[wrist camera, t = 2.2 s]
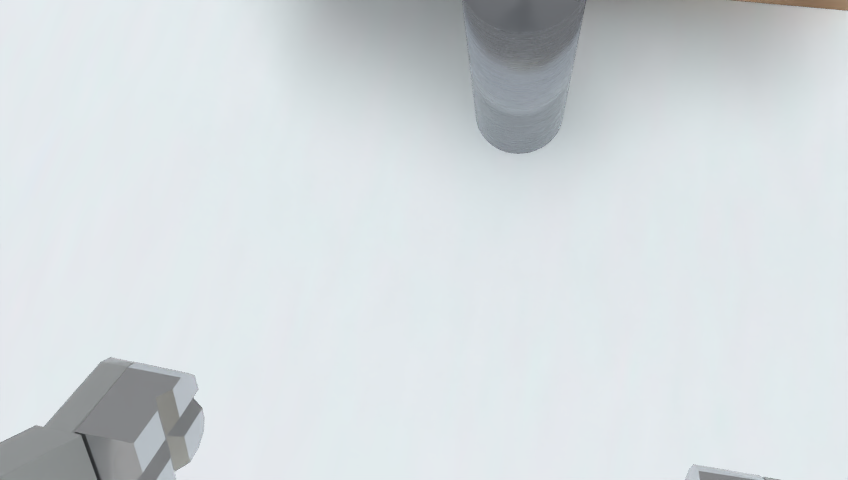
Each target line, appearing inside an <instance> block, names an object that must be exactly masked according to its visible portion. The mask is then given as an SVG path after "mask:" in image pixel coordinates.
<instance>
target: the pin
mask: <svg viewBox="0 0 848 480" xmlns="http://www.w3.org/2000/svg"><path fill="white" fill-rule="evenodd" d="M462 3H463V11H464V19H465V28H466V36H467V45H468V53H469V61H470V70H471V78H472V86H473V95H474V103H475V111H476V119H477V124H478V127H479V129H480V131H481V133H482V135H483V136H484V138H485V139H486V140H487V141H488V142H489V143H490V144H491V145H493V146H494V147H496V148H498V149H500V150H502V151H505V152H509V153H517V154H520V153H528V152H532V151H535V150H538V149H540V148H542V147H543V146H545V145H546V144H547V143H549V142H550V141H551V140H552V139H553V138H554V136H555V135H556V134H557V132H558V130H559V128H560V126H561V123H562V118H563V113H564V108H565V103H566V98H567V93H568V88H569V83H570V78H571V73H572V68H573V63H574V58H575V53H576V48H577V44H578V39H579V34H580V29H581V24H582V19H583V14H584V9H585V4H586V0H462Z"/></svg>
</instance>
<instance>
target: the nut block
mask: <svg viewBox="0 0 848 480" xmlns="http://www.w3.org/2000/svg"><path fill="white" fill-rule="evenodd" d="M734 1H745V2H757V3H768V4H780V5H791V6H803V7H814V8H826V9H837V10H848V0H734Z"/></svg>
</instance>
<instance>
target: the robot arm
mask: <svg viewBox="0 0 848 480" xmlns="http://www.w3.org/2000/svg"><path fill="white" fill-rule="evenodd" d="M197 391H198V386H197V382H196V378H195V375H192V374H189V373H185V372H180V371H176V370H171V369H166V368H161V367H157V366H152V365H147V364H142V363H138V362H131V361H126V360H121V359H117V358H112V357H110V358H108V359H106V360H104V361H102V362H101V363H99V365H98V366H97V367H96V368H95V369H94V370H93V371H92V372H91V374H90V375H89V376H88V377H87V378H86V379H85V380H84V382H83V383H82V384H81V385H80V386H79V387H78V388H77V390H76V391H75V392H74V393H73V394H72V395H71V396H70V397H69V399H68V400H67V401H66V402H65V403H64V404H63V405H62V407H61V408H60V409H59V410H58V411H57V412H56V413H55V414H54V416H53V417H52V418H51V419H50V420H49V421H48V422H47V424H46V425H45V426H44V427H42V426H34V427H31V428H29V429H27V430H25V431H23V432H21V433H19V434H17V435H15V436H13V437H11V438H9V439H7V440H5V441H3V442H1V443H0V480H176V475H175V471H176V470H178V469H180V468H181V467H183V466H185V465H186V464H188V463H190V462H191V460H192V458H193V456H194V455H195V453H196V451H197V450H198V448H199V445H200V441H201V438H202V435H203V432H204V414H203V409H202V407H201V406H200V405H199V404H198V403H197V402H196V401H195V400H194V398H193V397H194V395H195V394H196V392H197ZM685 480H779V479H773V478H768V477H761V476H759V475H753V474H747V473H741V472H735V471H730V470H724V469H718V468H712V467H706V466H700V465H693V466H692V467H691V468H690V469H689V471H688V474H687V476H686V479H685Z"/></svg>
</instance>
